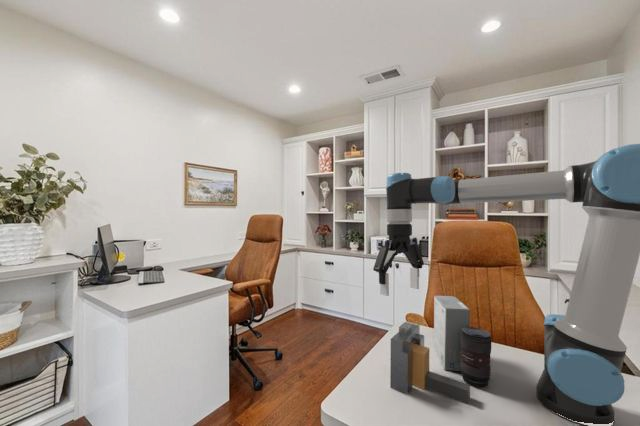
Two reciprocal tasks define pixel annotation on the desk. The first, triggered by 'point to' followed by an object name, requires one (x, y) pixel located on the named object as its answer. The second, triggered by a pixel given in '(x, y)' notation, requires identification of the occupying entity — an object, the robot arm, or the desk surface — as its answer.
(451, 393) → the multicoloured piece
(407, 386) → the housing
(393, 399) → the desk surface
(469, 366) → the camera lens
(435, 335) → the hard drive box
